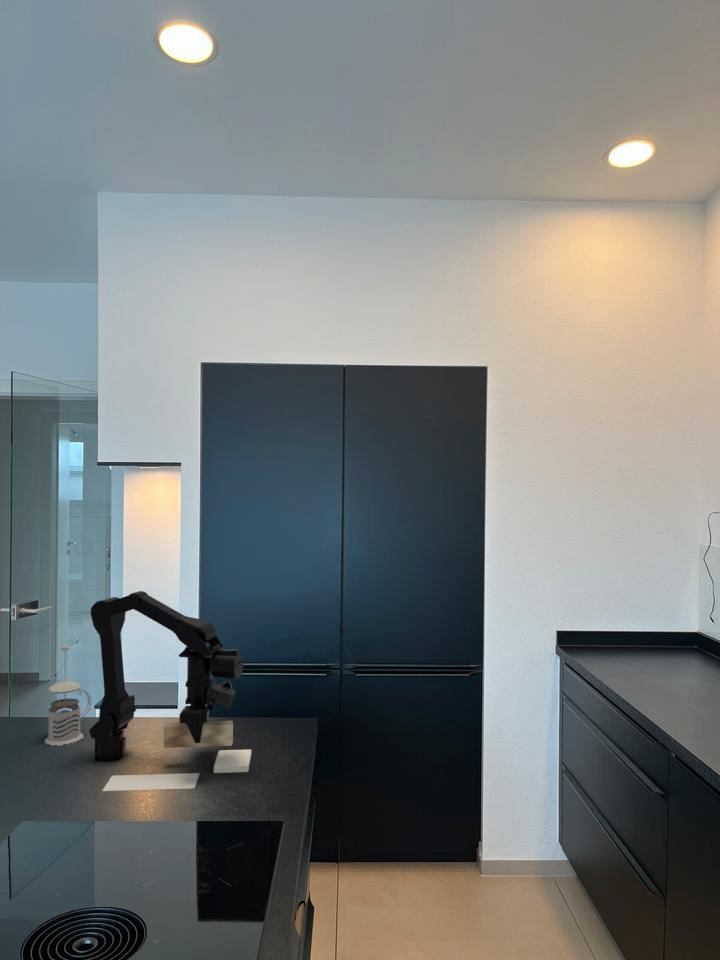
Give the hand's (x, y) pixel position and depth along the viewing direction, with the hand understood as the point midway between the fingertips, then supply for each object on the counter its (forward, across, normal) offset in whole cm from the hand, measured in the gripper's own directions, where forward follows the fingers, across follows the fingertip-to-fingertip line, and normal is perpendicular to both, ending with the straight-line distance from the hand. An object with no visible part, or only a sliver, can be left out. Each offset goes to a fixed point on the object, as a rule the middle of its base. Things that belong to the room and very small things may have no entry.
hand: (198, 740), depth 164 cm
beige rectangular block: (+1, 0, 0) cm, 1 cm away
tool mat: (+6, -9, +9) cm, 14 cm away
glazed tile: (+6, 0, -4) cm, 7 cm away
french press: (+7, +22, +38) cm, 44 cm away
